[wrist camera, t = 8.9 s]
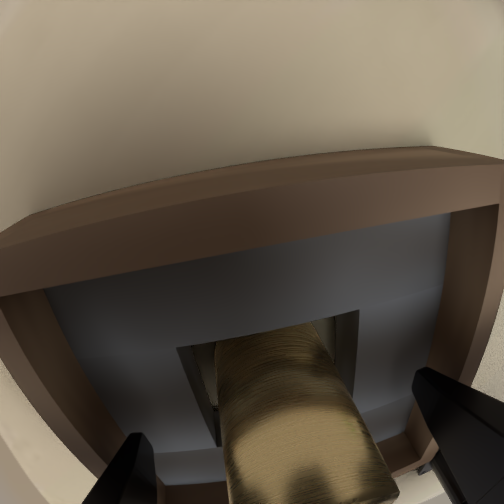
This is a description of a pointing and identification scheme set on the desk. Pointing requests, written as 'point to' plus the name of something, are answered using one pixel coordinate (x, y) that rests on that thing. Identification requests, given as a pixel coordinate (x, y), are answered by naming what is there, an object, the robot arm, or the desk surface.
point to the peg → (293, 424)
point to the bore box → (252, 296)
